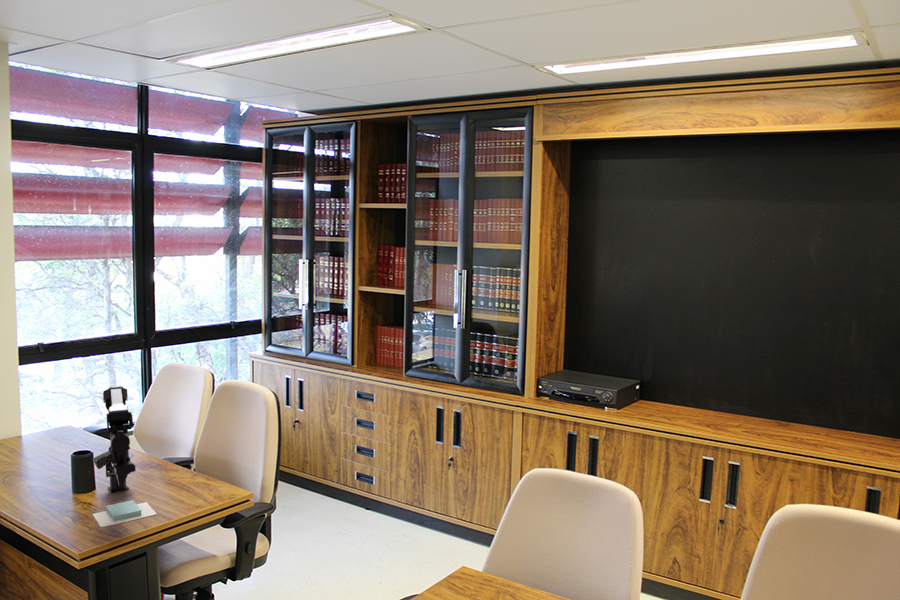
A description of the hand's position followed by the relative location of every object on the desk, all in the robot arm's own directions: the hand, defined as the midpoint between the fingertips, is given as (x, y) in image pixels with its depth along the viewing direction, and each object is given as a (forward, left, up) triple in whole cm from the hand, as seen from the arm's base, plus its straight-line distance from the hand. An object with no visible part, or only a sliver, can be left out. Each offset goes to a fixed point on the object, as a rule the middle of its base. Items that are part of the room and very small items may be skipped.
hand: (121, 486), depth 239 cm
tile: (-3, 0, -8) cm, 9 cm away
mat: (+4, 0, -9) cm, 10 cm away
